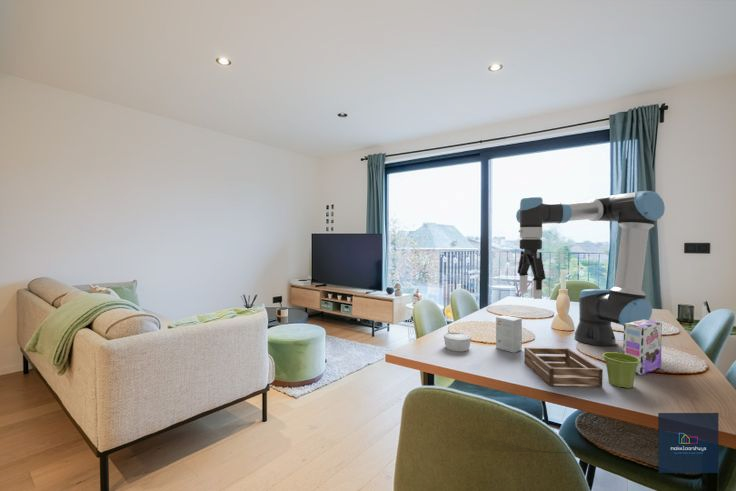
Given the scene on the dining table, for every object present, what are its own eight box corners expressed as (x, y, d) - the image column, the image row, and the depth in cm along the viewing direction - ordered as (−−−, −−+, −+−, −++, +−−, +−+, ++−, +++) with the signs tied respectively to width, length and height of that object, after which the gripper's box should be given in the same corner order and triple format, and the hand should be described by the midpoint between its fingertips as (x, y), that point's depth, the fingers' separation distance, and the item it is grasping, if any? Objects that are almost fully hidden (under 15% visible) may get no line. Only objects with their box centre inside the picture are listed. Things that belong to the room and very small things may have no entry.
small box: (522, 349, 138) (522, 318, 137) (514, 353, 134) (514, 320, 133) (503, 344, 144) (503, 314, 144) (495, 348, 140) (495, 316, 140)
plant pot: (595, 380, 108) (595, 354, 108) (613, 376, 112) (614, 350, 112) (627, 393, 100) (628, 364, 99) (646, 387, 103) (647, 359, 103)
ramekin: (461, 342, 147) (461, 330, 147) (476, 351, 137) (477, 338, 136) (438, 345, 144) (438, 333, 143) (453, 354, 133) (453, 341, 133)
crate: (567, 363, 123) (568, 348, 123) (602, 387, 103) (602, 369, 103) (524, 362, 124) (524, 347, 124) (550, 386, 104) (550, 368, 104)
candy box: (641, 375, 112) (642, 326, 112) (621, 369, 117) (622, 322, 117) (661, 368, 118) (663, 322, 118) (642, 362, 124) (643, 318, 123)
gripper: (509, 238, 139) (509, 289, 139) (533, 239, 114) (532, 301, 114) (528, 238, 138) (527, 290, 139) (556, 239, 113) (555, 301, 114)
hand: (530, 295), depth 127 cm, fingers open, 13 cm apart
